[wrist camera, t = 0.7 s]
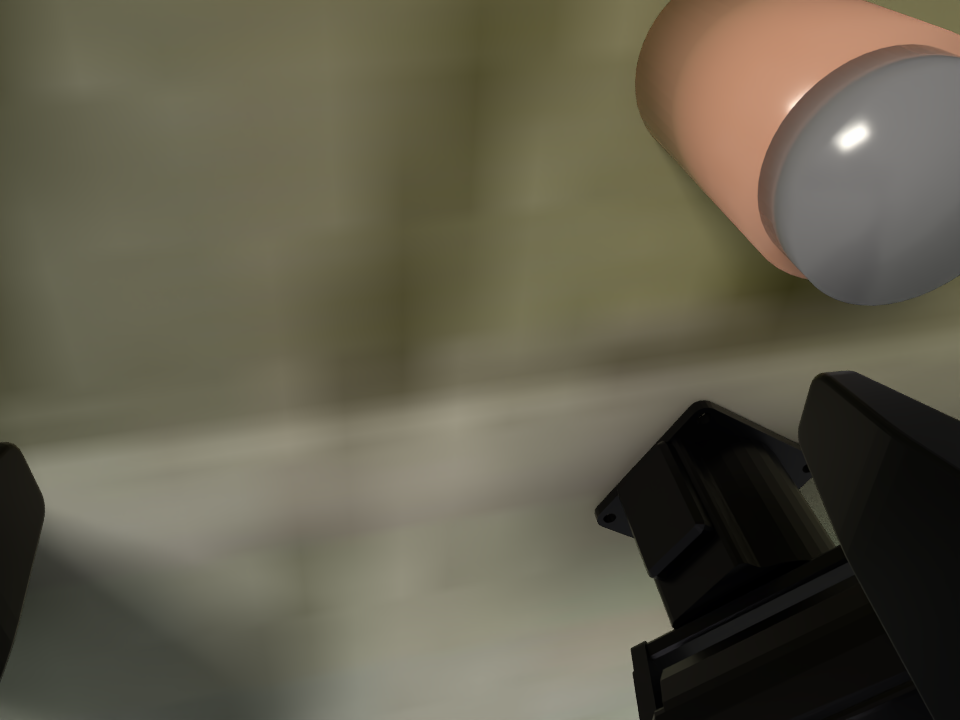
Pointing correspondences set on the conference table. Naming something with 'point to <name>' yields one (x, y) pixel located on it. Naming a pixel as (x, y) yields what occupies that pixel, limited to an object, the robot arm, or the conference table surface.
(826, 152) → the shaker
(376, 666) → the conference table surface
